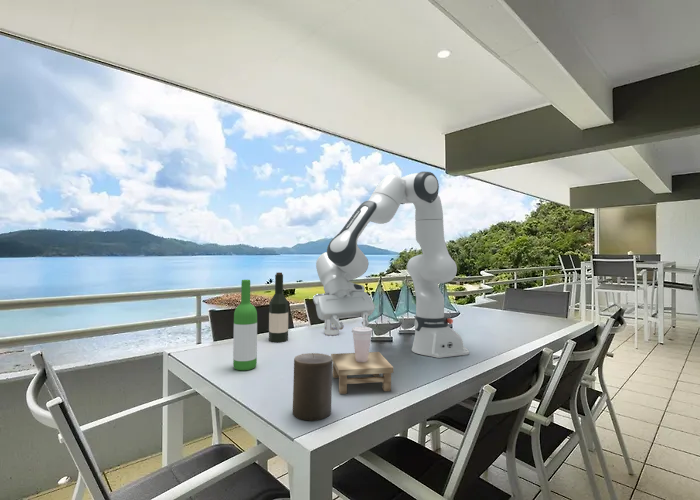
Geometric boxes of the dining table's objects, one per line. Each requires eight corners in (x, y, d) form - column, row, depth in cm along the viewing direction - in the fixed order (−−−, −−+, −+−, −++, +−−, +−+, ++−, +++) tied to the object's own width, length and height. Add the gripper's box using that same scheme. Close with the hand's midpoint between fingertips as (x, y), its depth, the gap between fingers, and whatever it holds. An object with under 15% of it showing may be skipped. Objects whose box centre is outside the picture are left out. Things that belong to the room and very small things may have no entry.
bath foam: (341, 333, 179) (342, 291, 179) (334, 336, 173) (335, 293, 173) (329, 331, 182) (329, 291, 182) (321, 334, 176) (322, 292, 176)
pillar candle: (310, 425, 87) (312, 360, 87) (284, 412, 93) (286, 352, 93) (339, 412, 94) (340, 352, 94) (313, 401, 100) (314, 345, 100)
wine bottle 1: (257, 363, 132) (258, 279, 131) (255, 370, 124) (256, 281, 124) (234, 364, 130) (235, 279, 130) (231, 371, 123) (232, 281, 122)
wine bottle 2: (278, 337, 170) (279, 271, 170) (291, 340, 165) (292, 272, 165) (264, 340, 163) (265, 272, 163) (278, 343, 159) (278, 273, 158)
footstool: (378, 372, 123) (379, 351, 123) (393, 391, 108) (393, 367, 107) (330, 375, 120) (331, 353, 120) (338, 394, 105) (338, 370, 105)
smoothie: (370, 364, 110) (371, 317, 110) (349, 362, 111) (350, 316, 111) (373, 357, 116) (374, 313, 116) (353, 356, 118) (354, 312, 118)
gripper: (314, 288, 119) (328, 324, 110) (367, 285, 129) (384, 318, 121) (308, 300, 122) (321, 336, 114) (360, 296, 133) (375, 329, 125)
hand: (354, 327), depth 118 cm, fingers open, 8 cm apart
